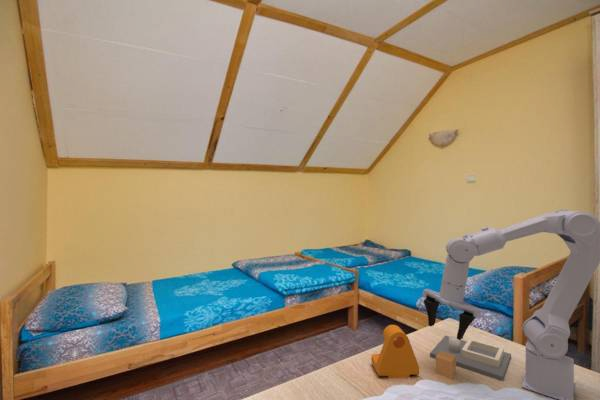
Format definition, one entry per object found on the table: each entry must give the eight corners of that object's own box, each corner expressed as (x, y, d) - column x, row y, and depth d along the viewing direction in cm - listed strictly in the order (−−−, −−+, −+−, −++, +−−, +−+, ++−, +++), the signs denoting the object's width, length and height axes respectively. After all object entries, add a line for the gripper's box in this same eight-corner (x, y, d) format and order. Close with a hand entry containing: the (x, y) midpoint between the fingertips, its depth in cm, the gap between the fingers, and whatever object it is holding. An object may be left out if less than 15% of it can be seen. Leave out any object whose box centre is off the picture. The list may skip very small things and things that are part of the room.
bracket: (407, 362, 87) (407, 320, 87) (419, 377, 80) (419, 331, 80) (370, 363, 86) (370, 321, 86) (378, 378, 79) (378, 332, 79)
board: (511, 357, 89) (511, 342, 89) (502, 380, 78) (502, 363, 78) (445, 338, 101) (445, 324, 101) (429, 356, 90) (429, 341, 90)
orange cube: (456, 372, 82) (456, 355, 82) (451, 379, 79) (451, 361, 79) (440, 366, 85) (440, 350, 85) (435, 373, 82) (435, 356, 82)
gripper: (420, 275, 85) (412, 322, 85) (477, 295, 74) (467, 349, 75) (432, 273, 89) (425, 318, 90) (487, 291, 78) (478, 342, 79)
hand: (445, 331), depth 83 cm, fingers open, 7 cm apart
